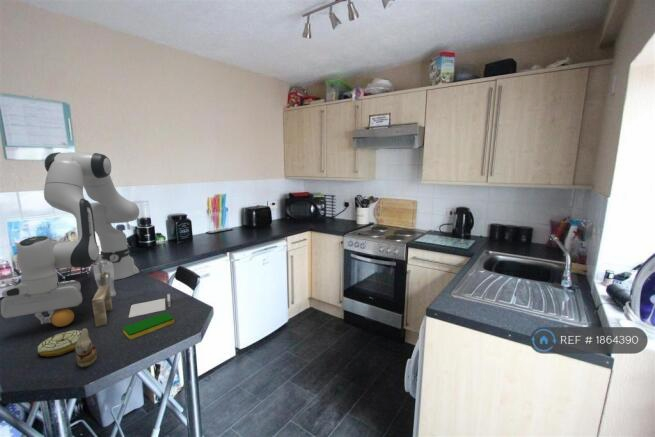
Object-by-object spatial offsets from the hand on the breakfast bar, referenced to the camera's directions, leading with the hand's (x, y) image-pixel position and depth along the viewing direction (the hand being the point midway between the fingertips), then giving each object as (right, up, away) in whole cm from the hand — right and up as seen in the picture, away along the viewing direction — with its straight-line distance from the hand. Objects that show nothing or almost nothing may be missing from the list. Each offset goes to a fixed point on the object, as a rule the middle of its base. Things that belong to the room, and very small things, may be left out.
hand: (47, 322), depth 102 cm
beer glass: (+1, +2, +27) cm, 27 cm away
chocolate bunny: (+28, -5, -18) cm, 34 cm away
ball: (+4, +1, +2) cm, 4 cm away
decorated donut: (+16, -4, -11) cm, 20 cm away
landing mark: (+26, +1, +15) cm, 30 cm away
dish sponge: (+36, -2, 0) cm, 36 cm away
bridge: (+14, -1, +8) cm, 16 cm away
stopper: (+32, +1, +19) cm, 37 cm away
